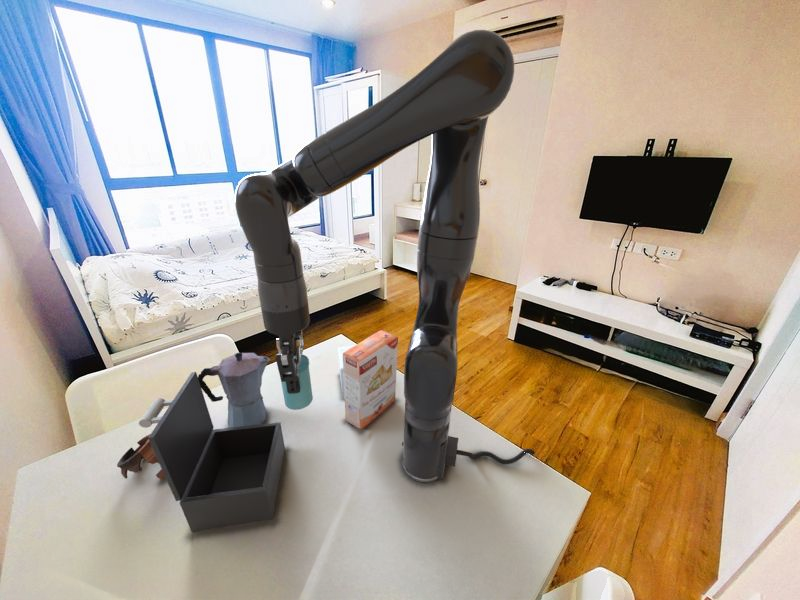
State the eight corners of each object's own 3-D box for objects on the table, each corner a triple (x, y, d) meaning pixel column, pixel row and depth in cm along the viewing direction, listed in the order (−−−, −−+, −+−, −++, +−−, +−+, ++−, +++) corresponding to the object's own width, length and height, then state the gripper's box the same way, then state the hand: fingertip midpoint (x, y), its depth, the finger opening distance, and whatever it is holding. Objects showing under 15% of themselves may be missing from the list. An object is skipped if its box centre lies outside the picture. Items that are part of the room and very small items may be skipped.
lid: (196, 371, 61) (165, 374, 60) (153, 437, 47) (113, 442, 46) (213, 427, 67) (186, 430, 66) (181, 500, 53) (146, 505, 52)
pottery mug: (152, 497, 63) (118, 473, 60) (139, 488, 69) (107, 466, 66) (203, 442, 71) (175, 418, 68) (187, 438, 77) (161, 416, 74)
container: (318, 393, 64) (314, 356, 61) (304, 412, 60) (299, 373, 56) (293, 388, 66) (288, 351, 62) (278, 407, 61) (271, 368, 57)
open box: (285, 450, 73) (280, 422, 69) (273, 521, 59) (265, 490, 55) (221, 458, 71) (212, 429, 67) (192, 534, 57) (179, 502, 53)
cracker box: (362, 432, 78) (359, 362, 69) (344, 421, 81) (340, 352, 72) (397, 401, 88) (399, 335, 79) (380, 391, 91) (380, 328, 83)
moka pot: (283, 421, 81) (272, 355, 72) (214, 449, 73) (193, 378, 64) (273, 398, 88) (262, 336, 79) (209, 422, 80) (189, 355, 71)
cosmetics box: (339, 375, 98) (337, 346, 93) (360, 372, 99) (359, 344, 95) (342, 399, 88) (339, 368, 84) (365, 395, 90) (364, 365, 85)
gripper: (303, 319, 48) (314, 406, 55) (310, 283, 61) (318, 357, 68) (250, 322, 47) (268, 411, 54) (269, 285, 59) (281, 360, 67)
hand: (296, 380), depth 61 cm, fingers closed on container, 5 cm apart
